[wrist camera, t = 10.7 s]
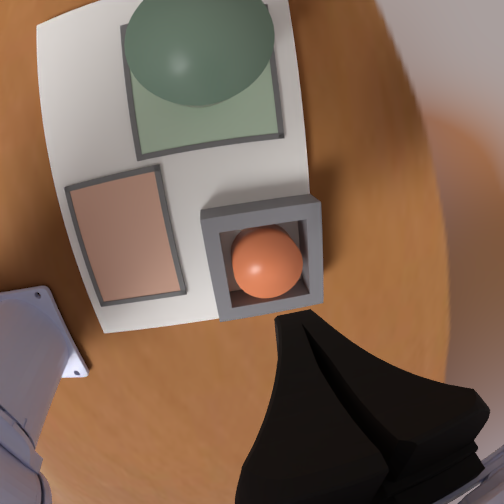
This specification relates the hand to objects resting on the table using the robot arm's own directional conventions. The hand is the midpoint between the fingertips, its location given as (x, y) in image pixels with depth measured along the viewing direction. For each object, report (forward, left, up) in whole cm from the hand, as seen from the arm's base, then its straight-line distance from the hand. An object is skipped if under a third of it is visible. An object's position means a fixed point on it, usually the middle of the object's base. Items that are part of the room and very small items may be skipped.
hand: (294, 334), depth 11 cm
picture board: (-4, +6, -8) cm, 11 cm away
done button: (0, 0, -7) cm, 7 cm away
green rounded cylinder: (-2, +10, -7) cm, 13 cm away
